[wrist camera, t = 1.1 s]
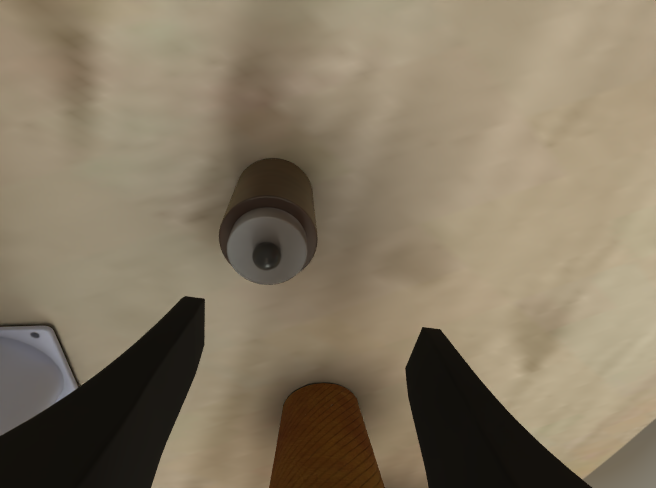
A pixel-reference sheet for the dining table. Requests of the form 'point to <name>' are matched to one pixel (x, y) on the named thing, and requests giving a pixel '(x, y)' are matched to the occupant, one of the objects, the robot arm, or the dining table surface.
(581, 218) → the dining table surface
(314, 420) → the disposable coffee cup
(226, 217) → the pepper mill
